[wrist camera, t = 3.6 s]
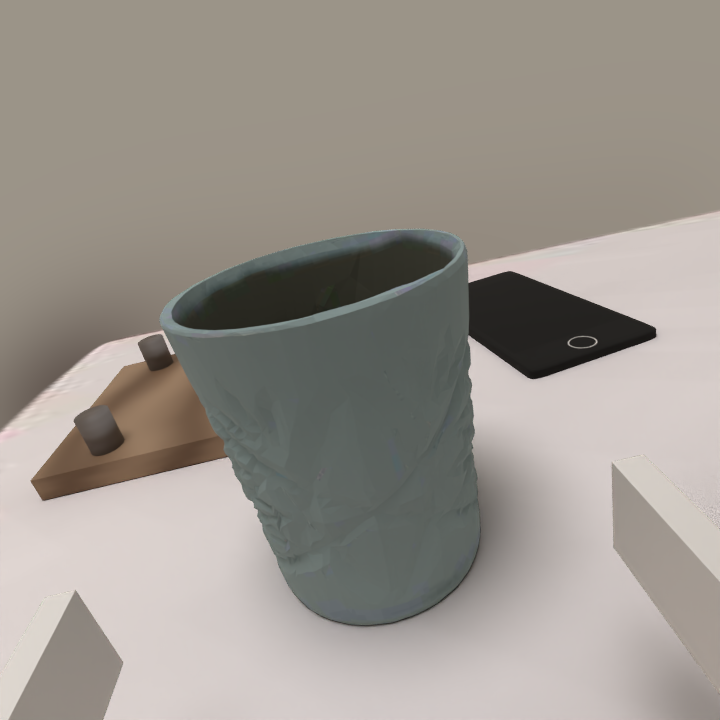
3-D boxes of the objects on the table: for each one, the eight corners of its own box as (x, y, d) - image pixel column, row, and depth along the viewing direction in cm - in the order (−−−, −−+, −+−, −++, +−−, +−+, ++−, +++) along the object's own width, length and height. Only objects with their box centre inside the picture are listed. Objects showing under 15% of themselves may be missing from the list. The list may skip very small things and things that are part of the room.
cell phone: (532, 385, 30) (531, 372, 30) (423, 306, 47) (422, 296, 46) (660, 342, 32) (660, 328, 31) (510, 279, 48) (509, 269, 47)
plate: (349, 328, 45) (338, 286, 43) (365, 423, 30) (350, 365, 29) (130, 381, 45) (112, 341, 44) (42, 500, 31) (9, 448, 29)
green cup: (221, 585, 21) (97, 325, 16) (354, 444, 28) (295, 234, 23) (438, 694, 16) (346, 341, 11) (537, 483, 23) (511, 212, 18)
